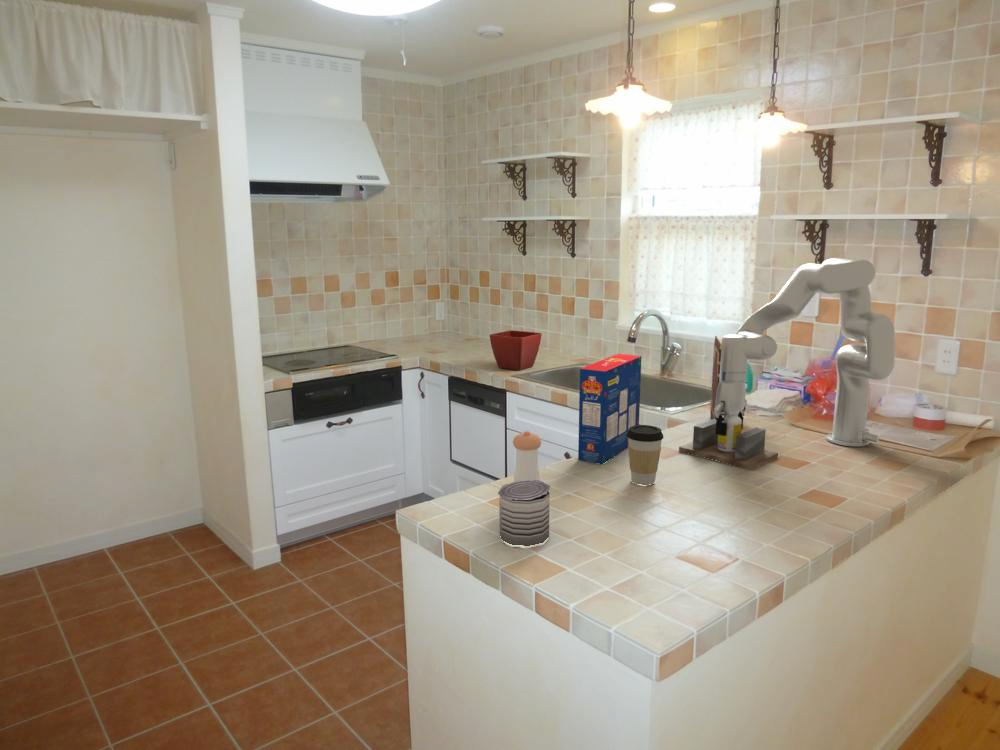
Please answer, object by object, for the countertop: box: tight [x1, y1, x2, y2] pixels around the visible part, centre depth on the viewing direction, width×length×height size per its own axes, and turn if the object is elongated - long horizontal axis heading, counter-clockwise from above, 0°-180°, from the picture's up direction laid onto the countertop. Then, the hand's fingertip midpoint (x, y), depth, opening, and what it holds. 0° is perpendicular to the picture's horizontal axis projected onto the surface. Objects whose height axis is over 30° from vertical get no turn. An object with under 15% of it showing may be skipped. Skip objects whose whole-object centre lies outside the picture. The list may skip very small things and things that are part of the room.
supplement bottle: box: [718, 410, 742, 452], centre depth 213 cm, size 7×7×13 cm
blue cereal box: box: [577, 353, 642, 465], centre depth 217 cm, size 28×8×28 cm, turn 148°
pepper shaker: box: [512, 430, 542, 482], centre depth 175 cm, size 7×7×19 cm
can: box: [497, 479, 551, 546], centre depth 157 cm, size 11×11×12 cm
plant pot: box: [489, 330, 543, 371], centre depth 345 cm, size 19×19×17 cm
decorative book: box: [709, 335, 723, 420], centre depth 242 cm, size 22×8×30 cm, turn 168°
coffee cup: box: [626, 424, 664, 485], centre depth 190 cm, size 10×10×15 cm
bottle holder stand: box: [678, 419, 779, 471], centre depth 213 cm, size 24×16×8 cm, turn 43°
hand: (729, 431), depth 213 cm, fingers open, 9 cm apart
